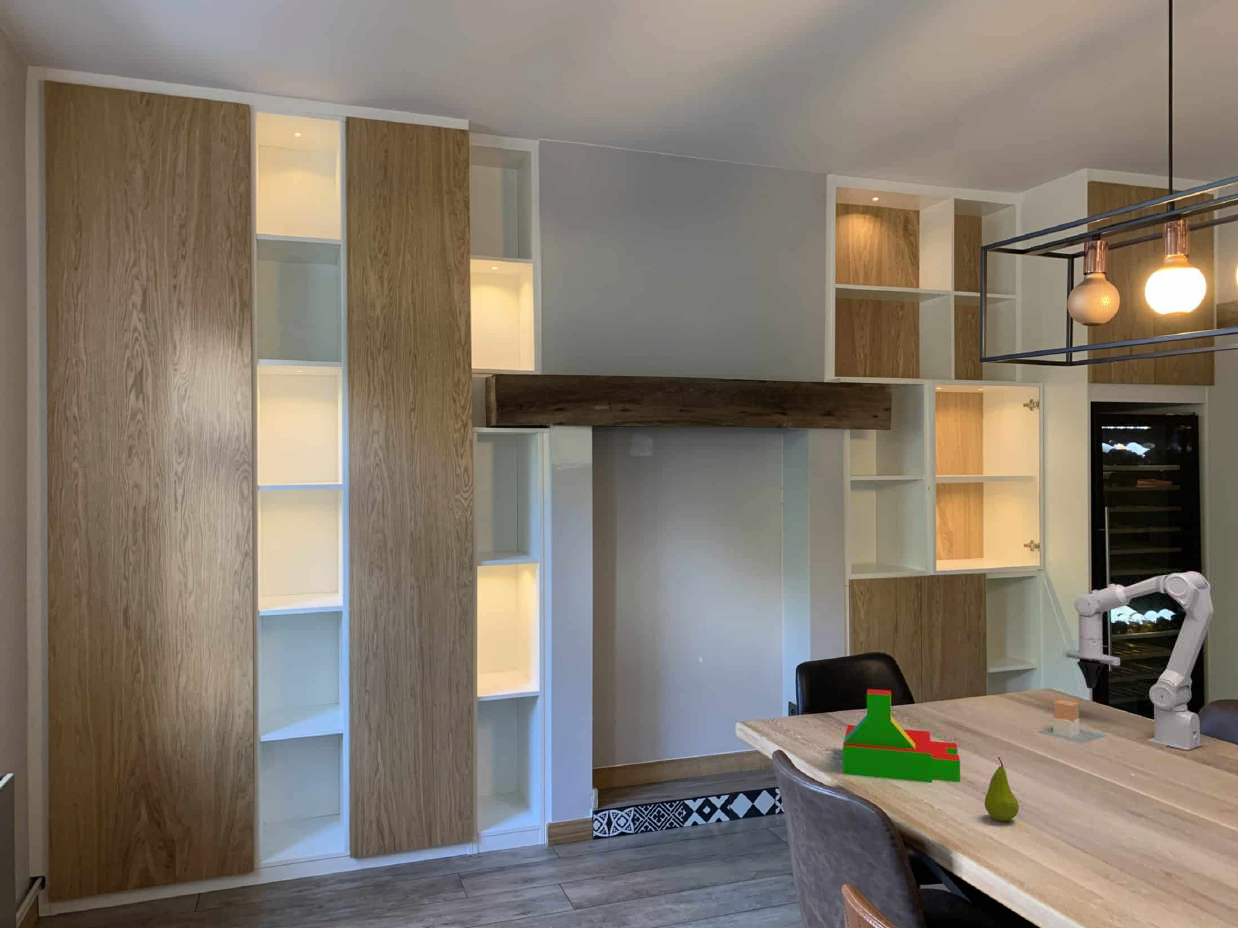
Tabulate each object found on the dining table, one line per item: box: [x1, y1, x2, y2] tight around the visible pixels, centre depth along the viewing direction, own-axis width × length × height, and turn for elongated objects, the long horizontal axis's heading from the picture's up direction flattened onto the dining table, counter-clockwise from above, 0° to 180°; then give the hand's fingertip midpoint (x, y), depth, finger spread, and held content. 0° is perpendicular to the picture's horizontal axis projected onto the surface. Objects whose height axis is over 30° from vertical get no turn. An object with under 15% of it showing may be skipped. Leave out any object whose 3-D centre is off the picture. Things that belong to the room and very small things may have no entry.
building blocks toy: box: [842, 688, 961, 783], centre depth 205 cm, size 19×25×18 cm
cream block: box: [1052, 717, 1080, 737], centre depth 231 cm, size 4×4×4 cm
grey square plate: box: [1037, 727, 1107, 744], centre depth 231 cm, size 12×12×1 cm
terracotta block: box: [1053, 699, 1080, 721], centre depth 232 cm, size 4×4×4 cm
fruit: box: [984, 756, 1020, 822], centre depth 172 cm, size 6×6×12 cm
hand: (1091, 687), depth 241 cm, fingers closed
